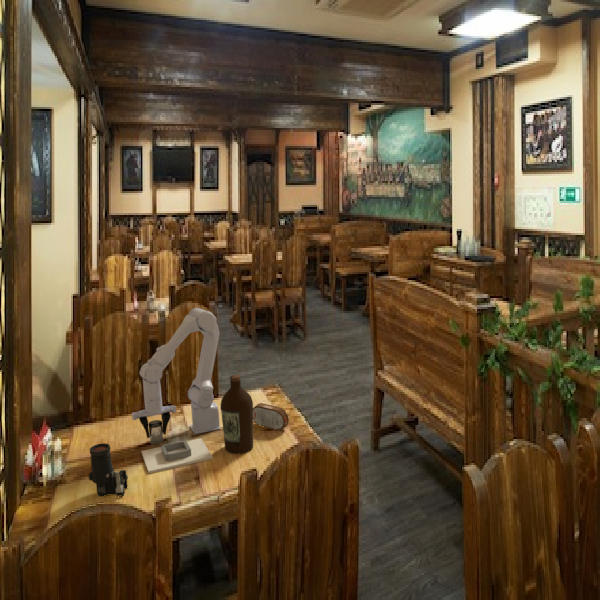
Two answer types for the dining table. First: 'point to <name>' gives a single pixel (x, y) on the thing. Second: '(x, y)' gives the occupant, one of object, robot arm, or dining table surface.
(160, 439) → the lens
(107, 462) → the black camera
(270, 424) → the tin
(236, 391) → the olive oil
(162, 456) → the mount plate
